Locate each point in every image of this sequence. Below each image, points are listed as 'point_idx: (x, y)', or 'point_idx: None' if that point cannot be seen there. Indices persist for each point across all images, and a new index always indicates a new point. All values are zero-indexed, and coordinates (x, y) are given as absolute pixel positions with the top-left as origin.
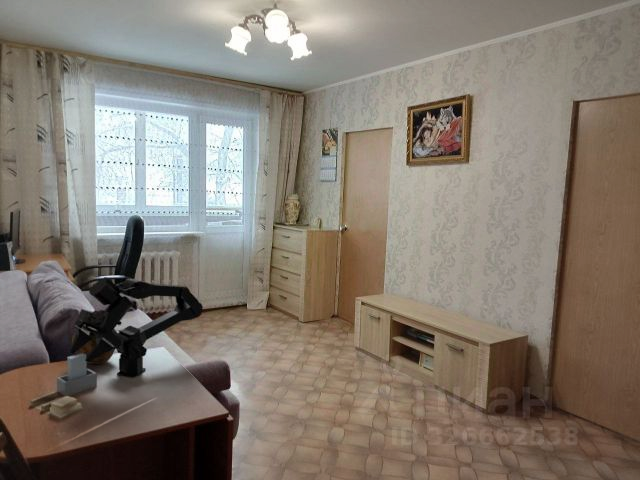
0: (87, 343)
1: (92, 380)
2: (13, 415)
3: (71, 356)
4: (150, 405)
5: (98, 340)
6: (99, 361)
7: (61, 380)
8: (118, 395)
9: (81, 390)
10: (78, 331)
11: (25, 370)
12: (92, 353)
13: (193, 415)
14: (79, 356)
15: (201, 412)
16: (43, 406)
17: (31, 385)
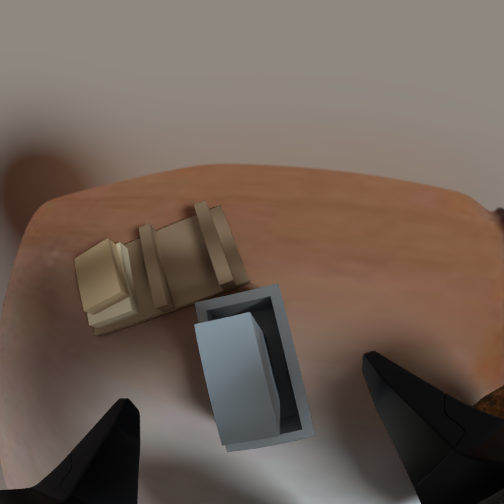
0: None
1: None
2: (193, 177)
3: (247, 344)
4: (54, 461)
5: (10, 496)
6: None
7: (232, 295)
8: None
9: None
10: (499, 457)
11: (489, 240)
12: (85, 443)
13: (8, 467)
14: (210, 394)
15: (12, 481)
16: (139, 228)
17: (387, 237)
